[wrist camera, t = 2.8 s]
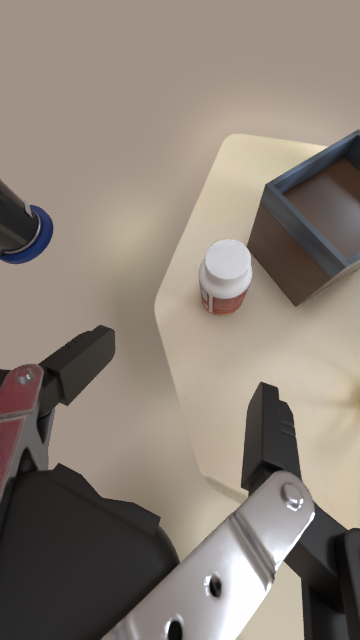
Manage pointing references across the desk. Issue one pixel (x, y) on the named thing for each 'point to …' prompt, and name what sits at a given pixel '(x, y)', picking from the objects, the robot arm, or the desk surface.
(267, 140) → the desk surface
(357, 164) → the cube pen cup
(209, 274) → the pill bottle
